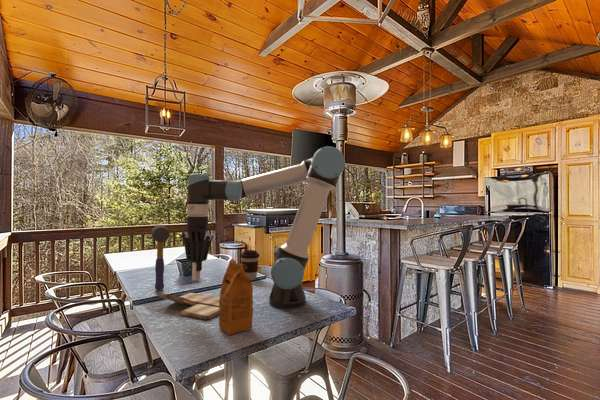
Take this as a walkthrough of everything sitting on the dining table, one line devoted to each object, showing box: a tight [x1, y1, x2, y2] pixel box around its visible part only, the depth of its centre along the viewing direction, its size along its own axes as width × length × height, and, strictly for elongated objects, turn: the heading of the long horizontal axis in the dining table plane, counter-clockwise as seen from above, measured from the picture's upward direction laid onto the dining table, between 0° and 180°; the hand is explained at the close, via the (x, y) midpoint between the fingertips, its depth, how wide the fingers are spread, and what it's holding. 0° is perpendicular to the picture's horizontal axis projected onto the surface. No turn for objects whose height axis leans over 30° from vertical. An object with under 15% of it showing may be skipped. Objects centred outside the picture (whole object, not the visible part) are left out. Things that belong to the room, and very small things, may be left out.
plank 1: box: [157, 293, 197, 306], centre depth 121 cm, size 12×9×1 cm
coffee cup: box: [240, 249, 260, 281], centre depth 167 cm, size 10×10×15 cm
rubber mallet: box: [150, 224, 171, 291], centre depth 144 cm, size 12×8×30 cm, turn 29°
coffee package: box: [218, 258, 254, 336], centre depth 103 cm, size 10×12×22 cm
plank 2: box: [180, 304, 219, 321], centre depth 115 cm, size 12×9×1 cm
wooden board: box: [175, 292, 220, 307], centre depth 127 cm, size 25×9×2 cm, turn 67°
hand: (196, 279), depth 115 cm, fingers closed
